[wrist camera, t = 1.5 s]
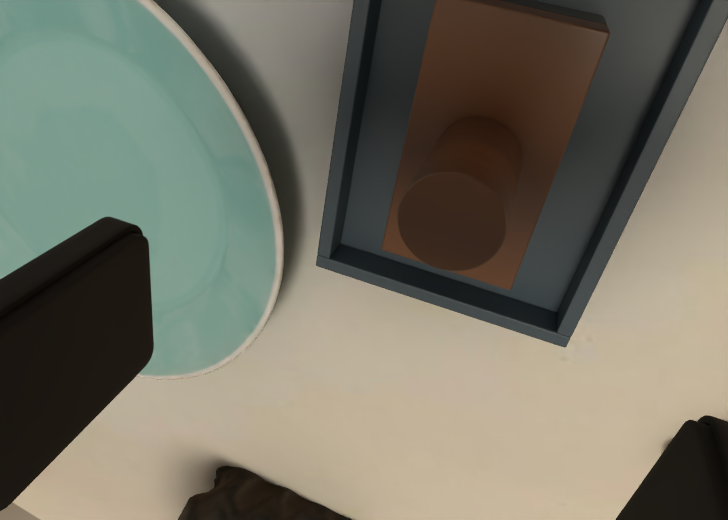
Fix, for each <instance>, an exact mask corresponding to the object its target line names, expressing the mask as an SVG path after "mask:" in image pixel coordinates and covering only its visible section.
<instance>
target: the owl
mask: <svg viewBox="0 0 728 520" xmlns="http://www.w3.org/2000/svg"><path fill="white" fill-rule="evenodd" d="M216 477H217V478H216V479H215V480H214V483H215V485H214V488H213V489H211V490H210V491H209V492H206V493H201V494H197V495H194V496H192V497H190V499H189V500H188V502H187V504H186V506H185V508H184V510H183V511H182V513H181V515H180V517H179V519H178V520H350V519H347V518H345V517H343V516H340V515H338V514H336V513H334V512H332V511H330V510H329V509H327V508H325V507H323V506H321V505H318V504H316V503H312V502H310V501H307V500H305V499H303V498H301V497H299V496H298V495H296V494H295V493H294V492H292V491H290V490H288V489H286V488H283V487H279V486H275V485H272V484H269V483H267V482H266V481H264V480H263V479H261V478H260V477H258V476H257V475H255V474H253V473H251V472H249V471H247V470H245V469H241V468H234V467H229V466H224V467H220V468H218V469H217V471H216Z"/></svg>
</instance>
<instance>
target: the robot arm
mask: <svg viewBox="0 0 728 520" xmlns="http://www.w3.org/2000/svg"><path fill="white" fill-rule="evenodd" d="M153 350H154V338H153V318H152V298H151V277H150V257H149V243H148V240H147V238H146V237H144V236H143V233H142V230H141V229H140V227H138V226H137V225H134V224H131V223H128V222H125V221H122V220H119V219H116V218H113V217H104V218H101V219H99V220H98V221H96V222H94V223H93V224H91V225H89V226H88V227H86V228H84V229H83V230H81V231H79V232H78V233H76V234H74V235H73V236H71V237H70V238H68V239H66V240H65V241H63V242H61V243H60V244H58V245H56V246H55V247H53V248H51V249H50V250H48V251H46V252H45V253H43V254H41V255H40V256H38V257H36V258H35V259H33V260H31V261H30V262H28V263H26V264H25V265H23V266H21V267H20V268H18V269H16V270H15V271H13V272H11V273H10V274H8V275H6V276H5V277H3V278H2V279H0V511H1V510H3V509H5V508H6V507H7V506H8V505H9V504H11V503H12V502H13V501H14V500H15V499H16V498H17V497H18V496H19V495H20V494H21V493H22V492H23V491H24V490H25V489H26V487H27V486H28V485H29V484H30V483H31V482H32V481H33V480H34V479H35V478H36V477H37V476H38V475H39V474H40V473H41V472H42V471H43V470H44V469H45V468H46V467H47V466H48V465H49V464H50V463H51V462H52V461H53V460H54V459H55V458H56V457H57V456H58V455H59V454H60V453H61V452H62V451H63V450H64V449H65V448H66V447H67V446H68V445H69V444H70V443H71V442H72V441H73V440H74V439H75V438H76V437H77V436H78V435H79V434H80V433H81V432H82V431H83V430H84V428H85V427H86V426H87V425H88V424H89V423H90V422H91V421H92V420H93V419H94V418H95V417H96V416H97V415H98V414H99V413H100V412H101V411H102V410H103V409H104V408H105V407H106V406H107V405H108V404H109V403H110V402H111V401H112V400H113V399H114V398H115V397H116V396H117V395H118V394H119V393H120V392H121V391H122V390H123V389H124V388H125V387H126V386H127V385H128V384H129V383H130V382H131V381H132V380H133V379H134V378H135V377H136V376H137V375H138V374H139V373H140V372H141V371H142V369H143V368H144V367H145V366H146V365H147V364H148V362H149V361H150V359H151V357H152V354H153ZM616 520H728V422H727V421H724V420H721V419H718V418H715V417H712V416H703V417H702V418H700V419H699V420H698V421H694V420H688V421H686V422H685V423H684V424H683V426H682V427H681V428H680V430H679V431H678V433H677V434H676V435H675V437H674V438H673V440H672V441H671V442H670V444H669V445H668V447H667V448H666V449H665V451H664V452H663V454H662V455H661V456H660V458H659V459H658V461H657V462H656V464H655V465H654V466H653V468H652V469H651V471H650V472H649V473H648V475H647V476H646V478H645V479H644V480H643V482H642V483H641V485H640V486H639V487H638V489H637V490H636V492H635V493H634V494H633V496H632V497H631V499H630V500H629V501H628V503H627V504H626V506H625V507H624V508H623V510H622V511H621V513H620V514H619V515H618V517H617V518H616Z"/></svg>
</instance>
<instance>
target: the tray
mask: <svg viewBox="0 0 728 520" xmlns="http://www.w3.org/2000/svg"><path fill="white" fill-rule="evenodd" d="M534 1H539V2H543V3H548V4H552V5H557V6H561V7H566V8H570V9H574V10H579V11H583V12H588V13H592V14H597V15H601V16H604V17H605V20H606V23H607V26H608V28H609V31H610V36H609V39H608V41H607V44H606V46H605V49H604V51H603V54H602V57H601V59H600V62H599V64H598V67H597V69H596V72H595V75H594V77H593V80H592V82H591V85H590V87H589V90H588V93H587V95H586V98H585V100H584V103H583V105H582V108H581V111H580V113H579V116H578V118H577V121H576V124H575V126H574V129H573V131H572V134H571V136H570V139H569V142H568V144H567V147H566V149H565V152H564V154H563V157H562V160H561V162H560V165H559V167H558V170H557V172H556V175H555V178H554V180H553V183H552V185H551V188H550V190H549V193H548V196H547V198H546V201H545V203H544V206H543V208H542V211H541V214H540V216H539V219H538V221H537V224H536V226H535V229H534V232H533V234H532V237H531V239H530V242H529V245H528V247H527V250H526V252H525V255H524V257H523V260H522V263H521V265H520V268H519V270H518V273H517V275H516V278H515V281H514V283H513V286H512V288H511V289H510V290H507V289H504V288H501V287H498V286H495V285H491V284H488V283H485V282H482V281H479V280H476V279H472V278H469V277H466V276H463V275H460V274H457V273H453V272H450V271H445V270H441V269H437V268H434V267H432V266H430V265H428V264H425V263H422V262H419V261H416V260H412V259H409V258H406V257H403V256H400V255H397V254H393V253H390V252H387V251H384V250H382V248H381V247H382V243H383V238H384V233H385V229H386V224H387V220H388V215H389V210H390V206H391V201H392V197H393V192H394V187H395V183H396V178H397V174H398V169H399V164H400V160H401V155H402V150H403V146H404V141H405V137H406V132H407V127H408V123H409V118H410V114H411V109H412V104H413V100H414V95H415V91H416V86H417V81H418V77H419V72H420V68H421V63H422V58H423V54H424V49H425V45H426V40H427V35H428V31H429V26H430V22H431V17H432V12H433V8H434V3H435V0H354V3H353V10H352V17H351V24H350V31H349V38H348V45H347V52H346V59H345V66H344V73H343V80H342V87H341V94H340V100H339V107H338V114H337V121H336V128H335V135H334V142H333V149H332V156H331V163H330V170H329V177H328V184H327V191H326V198H325V205H324V212H323V219H322V226H321V233H320V240H319V247H318V255H317V261H316V266H318V267H322V268H325V269H328V270H331V271H334V272H337V273H340V274H343V275H346V276H349V277H352V278H355V279H358V280H361V281H364V282H367V283H370V284H373V285H376V286H379V287H382V288H385V289H388V290H391V291H394V292H398V293H401V294H404V295H407V296H410V297H413V298H416V299H419V300H422V301H425V302H428V303H431V304H434V305H437V306H440V307H443V308H446V309H449V310H452V311H455V312H458V313H461V314H464V315H467V316H470V317H473V318H477V319H480V320H483V321H486V322H489V323H492V324H495V325H498V326H501V327H504V328H507V329H510V330H513V331H516V332H519V333H522V334H525V335H528V336H531V337H534V338H537V339H540V340H543V341H546V342H549V343H553V344H556V345H559V346H562V347H566V346H567V344H568V342H569V340H570V337H571V336H572V334H573V332H574V330H575V328H576V326H577V324H578V322H579V320H580V318H581V316H582V314H583V312H584V310H585V308H586V306H587V303H588V301H589V299H590V297H591V295H592V293H593V291H594V289H595V287H596V285H597V283H598V281H599V279H600V277H601V275H602V273H603V271H604V269H605V267H606V265H607V263H608V261H609V259H610V257H611V255H612V253H613V251H614V249H615V247H616V244H617V242H618V240H619V238H620V236H621V234H622V232H623V230H624V228H625V226H626V224H627V222H628V220H629V218H630V216H631V214H632V212H633V210H634V208H635V206H636V204H637V202H638V200H639V198H640V196H641V194H642V192H643V190H644V187H645V185H646V183H647V181H648V179H649V177H650V175H651V173H652V171H653V169H654V167H655V165H656V163H657V161H658V159H659V157H660V155H661V153H662V151H663V149H664V147H665V145H666V143H667V141H668V139H669V137H670V135H671V133H672V131H673V128H674V126H675V124H676V122H677V120H678V118H679V116H680V114H681V112H682V110H683V108H684V106H685V104H686V102H687V100H688V98H689V96H690V94H691V92H692V90H693V88H694V86H695V84H696V82H697V80H698V78H699V76H700V74H701V71H702V69H703V67H704V65H705V63H706V61H707V59H708V57H709V55H710V53H711V51H712V49H713V47H714V45H715V43H716V41H717V39H718V37H719V35H720V33H721V31H722V29H723V27H724V25H725V23H726V21H727V19H728V0H534Z"/></svg>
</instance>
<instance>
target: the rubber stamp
mask: <svg viewBox="0 0 728 520" xmlns="http://www.w3.org/2000/svg"><path fill="white" fill-rule="evenodd" d="M609 36H610V31H609V28H608V26H607V23H606V20H605V17H604V16H601V15H597V14H592V13H588V12H583V11H579V10H574V9H570V8H566V7H561V6H557V5H552V4H548V3H543V2H539V1H534V0H435V3H434V8H433V12H432V17H431V22H430V26H429V31H428V35H427V40H426V45H425V49H424V54H423V58H422V63H421V68H420V72H419V77H418V81H417V86H416V91H415V95H414V100H413V104H412V109H411V114H410V118H409V123H408V127H407V132H406V137H405V141H404V146H403V150H402V155H401V160H400V164H399V169H398V174H397V178H396V183H395V187H394V192H393V197H392V201H391V206H390V210H389V215H388V220H387V224H386V229H385V233H384V238H383V243H382V247H381V248H382V250H384V251H387V252H390V253H393V254H397V255H400V256H403V257H406V258H409V259H412V260H416V261H419V262H422V263H425V264H428V265H430V266H432V267H434V268H437V269H441V270H445V271H450V272H453V273H457V274H460V275H463V276H466V277H469V278H472V279H476V280H479V281H482V282H485V283H488V284H491V285H495V286H498V287H501V288H504V289H507V290H510V289H511V288H512V286H513V283H514V281H515V278H516V275H517V273H518V270H519V268H520V265H521V263H522V260H523V257H524V255H525V252H526V250H527V247H528V245H529V242H530V239H531V237H532V234H533V232H534V229H535V226H536V224H537V221H538V219H539V216H540V214H541V211H542V208H543V206H544V203H545V201H546V198H547V196H548V193H549V190H550V188H551V185H552V183H553V180H554V178H555V175H556V172H557V170H558V167H559V165H560V162H561V160H562V157H563V154H564V152H565V149H566V147H567V144H568V142H569V139H570V136H571V134H572V131H573V129H574V126H575V124H576V121H577V118H578V116H579V113H580V111H581V108H582V105H583V103H584V100H585V98H586V95H587V93H588V90H589V87H590V85H591V82H592V80H593V77H594V75H595V72H596V69H597V67H598V64H599V62H600V59H601V57H602V54H603V51H604V49H605V46H606V44H607V41H608V39H609Z"/></svg>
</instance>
